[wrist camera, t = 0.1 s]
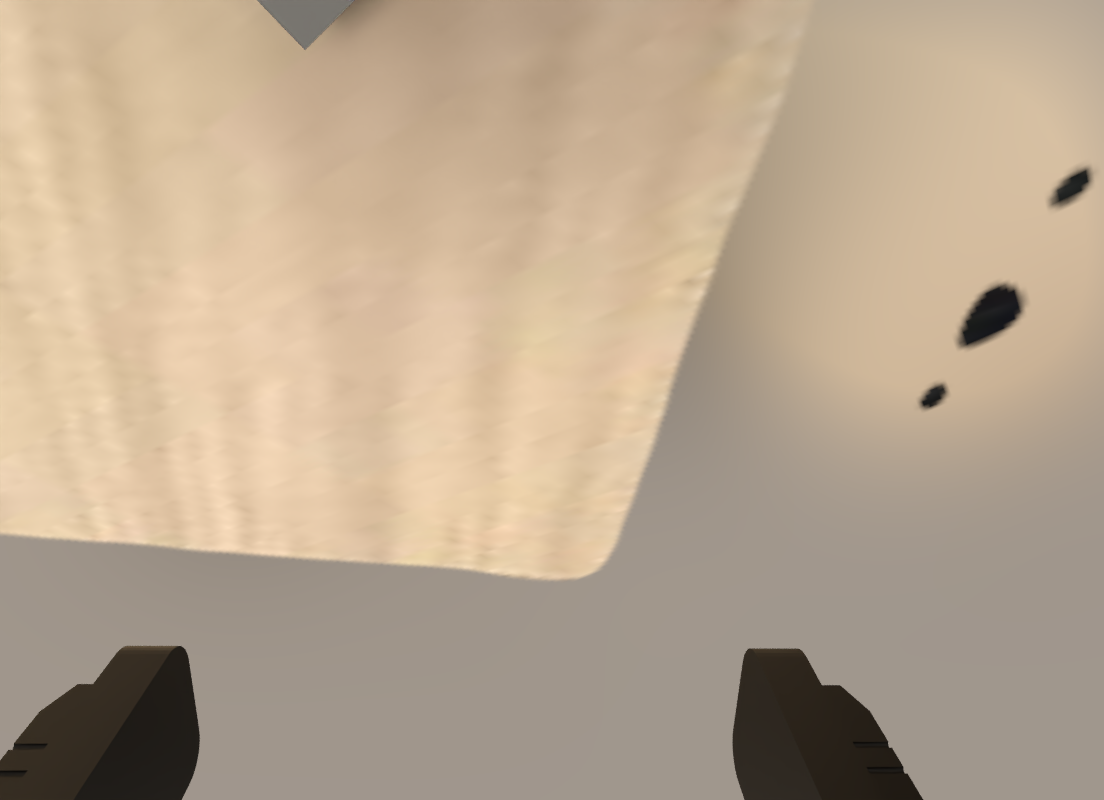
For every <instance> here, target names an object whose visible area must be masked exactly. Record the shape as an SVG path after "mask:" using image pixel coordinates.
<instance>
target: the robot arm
mask: <svg viewBox="0 0 1104 800" xmlns="http://www.w3.org/2000/svg"><path fill="white" fill-rule="evenodd" d="M199 736H200V735H199V726H198V719H197V712H196V706H195V699H194V692H193V685H192V678H191V672H190V665H189V659H188V655H187V652H186V650H185V649H184V648H183V647H181V646H125V647H123V648H122V649H120V650H119V651H118V652H117V653H116V655H115V656H114V657H113V659H112V660H111V661H110V663H109V664H108V665H107V667H106V668H105V669H104V671H103V672H102V673H101V674H100V676H99V677H98V678H97V680H96V681H95V682H94V684H77V685H76V686H75V687H73V688H72V689H71V690H69V691H68V692H66V693H65V694H64V695H62V696H61V697H59V698H58V699H57V700H55V701H54V702H52V703H51V704H50V705H48V706H47V707H46V708H44V709H43V710H41V711H40V712H39V714H38V715H37V716H36V717H35V718H34V720H33V721H32V722H31V723H30V724H29V726H28V727H27V728H26V729H25V731H24V732H23V733H22V734H21V736H20V737H19V738H18V739H17V740H16V742H15V743H14V747H13V750H8V751H7V753H6V754H5V755H4V756H3V758H2V759H1V760H0V800H182V798H183V796H184V794H185V792H186V790H187V788H188V786H189V783H190V781H191V779H192V777H193V774H194V771H195V767H196V763H197V759H198V753H199V742H200V740H199V739H200V737H199ZM733 756H734V764H735V770H736V774H737V778H738V781H739V784H740V787H741V790H742V793H743V796H744V799H745V800H923V799H922V797H921V795H920V794H919V792H918V790H917V789H916V787H915V785H914V784H913V782H912V781H911V779H910V777H909V776H908V774H905V773H904V771H903V766H902V764H901V762H900V761H899V759H898V757H897V756H896V754H895V752H894V751H893V749H892V748H889V746H888V741H887V739H886V737H885V736H884V734H883V732H882V731H881V729H880V727H879V726H878V724H877V722H876V721H875V719H874V717H873V716H872V714H871V713H870V711H869V710H868V709H867V708H865V707H864V706H863V705H862V704H861V703H860V702H859V701H857V700H856V699H855V698H854V697H853V696H852V695H851V694H849V693H848V692H847V691H846V690H845V689H844V688H842V687H841V686H840V685H824V686H823V685H821V683H820V681H819V680H818V678H817V676H816V674H815V672H814V670H813V668H812V667H811V665H810V663H809V661H808V659H807V657H806V656H805V654H804V653H803V652H802V651H801V650H800V649H748V650H747V651H746V653H745V655H744V659H743V665H742V672H741V679H740V686H739V693H738V700H737V708H736V715H735V721H734V729H733Z"/></svg>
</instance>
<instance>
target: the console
mask: <svg viewBox="0 0 1104 800" xmlns="http://www.w3.org/2000/svg"><path fill="white" fill-rule="evenodd" d="M257 1H258V2H259V3H260V4H261V5H262V6H263V7H264V8H265V9H266V10H267V11H268V12H269V13H270V14H271V15H272V16H273V17H274V18H275V19H276V20H277V21H278V22H279V23H280V25H281V26H282V27H283V28H284V29H285V30H286V31H287V32H288V33H289V34H290V35H291V36H292V37H293V38H294V39H295V40H296V41H297V42H298V43H299V44H300V45H301V46H302V47H303V48H304V50H306V49H307V48H308V47H309V46H310V45H311V44H312V43H313V42H314V41H315V40H316V39H317V38H318V37H319V36H320V35H321V34H322V33H323V32H324V31H325V30H326V29H327V28H328V27H329V26H330V24H331V23H332V22H333V21H334V20H335V19H336V18H337V17H338V16H339V15H340V14H341V13H342V12H343V11H344V10H345V9H346V8H347V7H348V6H349V5H350V4H351V3H352V2H353V1H354V0H257Z"/></svg>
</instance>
